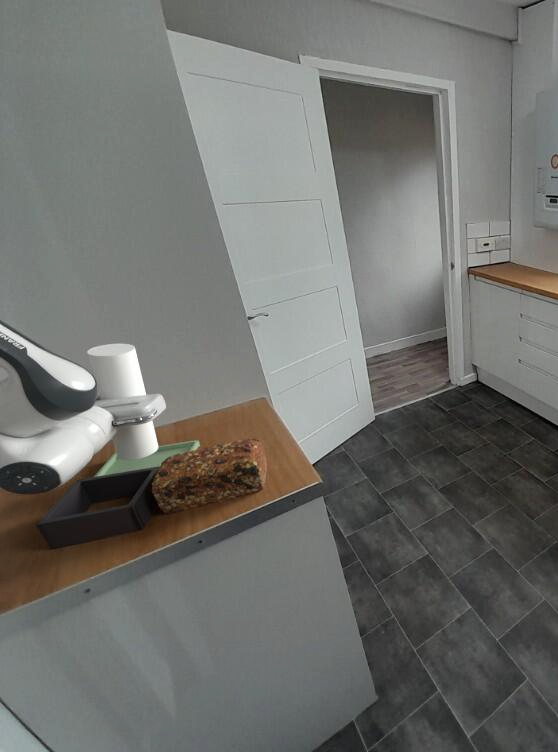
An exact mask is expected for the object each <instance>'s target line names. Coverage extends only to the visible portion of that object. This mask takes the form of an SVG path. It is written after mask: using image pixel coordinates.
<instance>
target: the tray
mask: <svg viewBox="0 0 558 752" xmlns="http://www.w3.org/2000/svg"><path fill="white" fill-rule="evenodd" d="M200 446H201V444H200V441H199V440H198V439H197V440H196V439H195V440H190V441H184V442H183V441H182V442H177V443H170V444H163V445H158V449H157V451H155V452H154V453H153V454H151V455H149V456H146V457H143V458H140V459H135V460H122V459H119V458H118V457H117V454H116V452H114V453H113V454H112V455H111V456H110V457H109V459H108V460H107V461H106V462H105V463H104V465H103V466H102V467H101V468H100V469H98V471H97V472H96V473H95V475H94V476H93V477H97V476H103V475H109V474H115V473H121V472H127V471H133V470H140V469H146V468H152V467H158V466H161V463H162V462H163V461H164V460H165V459H167V458H168V457H170V456H173V455H176V454H180V453H184V452H189V451H193V450H198V449H199V448H200Z"/></svg>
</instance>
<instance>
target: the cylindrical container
mask: <svg viewBox="0 0 558 752" xmlns="http://www.w3.org/2000/svg"><path fill="white" fill-rule="evenodd" d="M86 353H87V357H88V360H89V363H90V366H91V371H92V375H93V376H94V377H95V379H96V381H97V386H98V396H100V399H101V400H106V399H114V398H123V397H131V396H140V395H147V393H146V388H145V384H144V380H143V376H142V371H141V366H140V362H139V359H138V354H137V350H136V347H135V345H133V344H128V343H109V344H102V345H97V346H94V347H91V348H90V349H88V350H87V351H86ZM153 421H154V420H152V421H150V422H148V423H145V424H140V425H133V426H125V427H118V428H117V431H116V433H115V435H114V436H113V437H112V438H111V440H112V445H113V447H114V450H115V453H116V454H117V457H118V458H119V459H122V460H135V459H140V458H143V457H146V456H149V455H151V454H153V453H154V452H155V451H157V449H158V446H159V443H158V439H157V434H156V430H155V426H154V422H153Z"/></svg>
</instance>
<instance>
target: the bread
mask: <svg viewBox="0 0 558 752" xmlns="http://www.w3.org/2000/svg"><path fill="white" fill-rule="evenodd" d="M267 476H268V462H267V455H266V451H265V447H264V446H263V443H262V442H261V441H260V438H243V439H240V440H233V441H228V442H224V443H218V444H215V445H212V446H205V447H203V448H197V450H193V451H189V452H184V453H180V454H176V455H173V456H170V457H168V458H167V459H165V460H164V461H163V462H162V463H161V466H160V468H159V469H157V470H156V472H155V476H154V482H153V483H152V485H153V487H152V493H153V495H154V498H155V499H156V501H157V503H158V507H159V508H160V510H161V511H162V512H163V513H164V514H165V515H172V514H175V513H178V512H183V511H188V510H192V509H196V508H201V507H204V506H208V505H212V504H213V505H214V504H216V503H220V502H224V501H225V502H226V501H227V500H230V499H232V500H233V499H236V498H240V497H241V498H242V497H244V496H247V495H251V494H254V493H256V492H257V493H258V492H261V491H263V490H264V488H265V486H266V480H267Z"/></svg>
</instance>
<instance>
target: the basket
mask: <svg viewBox="0 0 558 752" xmlns="http://www.w3.org/2000/svg"><path fill="white" fill-rule="evenodd" d="M159 468H160V466H158V467H152V468H146V469H140V470H133V471H127V472H121V473H115V474H109V475H103V476H97V477H94V476H91V477H86V478H79V479H76V481H75V482H73V484H72V485H71V486H70V487H69V488H68V489H67V490H66V491H65V492H64V493H63V494H62V496H61V497H60V498H58V500H57V501H56V502H55V503H54V504H53V505H52V506H51V508H50V509H48V510H47V512H45V514H44V515H43V516H42V517H41V519H40V520H38V522H36V523H35V526H36V528H37V530H38V531H39V533H40V535H41V537H42V539H44V540H43V541H45V543H46V544H47V547H48V548H49V549H50V550H53V549H54V550H55V549H58V548H62V547H68V546H72V545H73V546H74V545H78V544H82V543H83V544H84V543H88V542H92V541H97V540H102V539H107V538H113V537H117V536H122V535H127V534H131V533H135V532H141V531H143V530H144V529H145V528H146V527H147V525H148V523H149V521H150V520H151V518H152V517H153V514H154V513H155V512H156V510H157V508H158V507H159V505H158V503H157V501H156V499H155V498H154V495H153V493H152V487H153V485H152V483H153V482H154V476H155V472H156V470H157V469H159ZM128 498H132V499H131V500H130V501H129V503H128V504H123V505H118V506H117V505H116V506H113V507H106V508H100V509H96V510H91V511H89V509H90V507H91V506H93V505H95V504H100V503H101V504H102V503H105V502H112V501H116V500H121V499H128Z"/></svg>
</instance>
